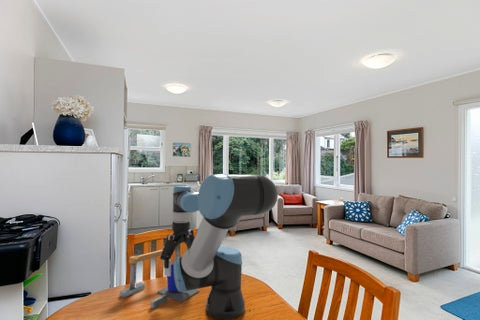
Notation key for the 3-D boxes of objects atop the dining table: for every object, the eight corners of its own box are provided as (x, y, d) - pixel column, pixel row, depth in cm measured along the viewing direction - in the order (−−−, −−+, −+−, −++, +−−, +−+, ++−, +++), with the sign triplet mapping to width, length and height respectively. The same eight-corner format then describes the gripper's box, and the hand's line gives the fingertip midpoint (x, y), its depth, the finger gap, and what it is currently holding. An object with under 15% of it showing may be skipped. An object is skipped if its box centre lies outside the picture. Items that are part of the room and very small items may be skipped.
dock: (169, 299, 107) (170, 269, 107) (149, 310, 99) (151, 277, 99) (140, 286, 117) (141, 259, 118) (119, 296, 109) (120, 266, 109)
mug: (188, 297, 109) (189, 273, 109) (162, 292, 111) (163, 269, 112) (196, 288, 117) (197, 265, 117) (171, 284, 119) (172, 262, 120)
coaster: (199, 292, 114) (199, 290, 114) (181, 302, 105) (181, 301, 105) (176, 283, 122) (176, 282, 122) (157, 292, 113) (157, 291, 113)
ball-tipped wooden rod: (165, 251, 127) (165, 245, 127) (169, 253, 124) (170, 247, 124) (127, 262, 112) (127, 254, 112) (131, 264, 110) (131, 256, 110)
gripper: (194, 216, 127) (192, 260, 126) (152, 224, 105) (150, 277, 105) (206, 218, 123) (204, 263, 122) (165, 227, 102) (163, 282, 101)
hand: (179, 270), depth 113 cm, fingers open, 13 cm apart
